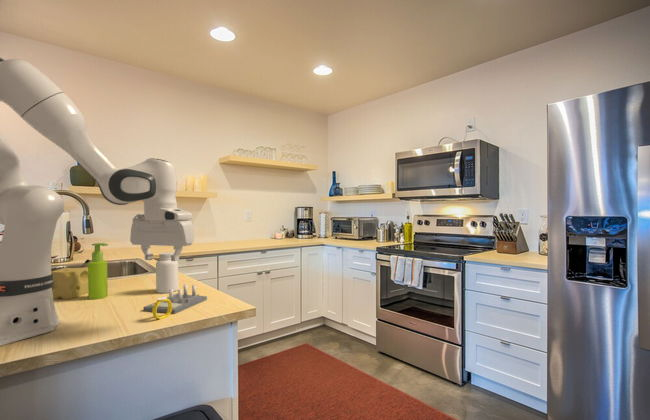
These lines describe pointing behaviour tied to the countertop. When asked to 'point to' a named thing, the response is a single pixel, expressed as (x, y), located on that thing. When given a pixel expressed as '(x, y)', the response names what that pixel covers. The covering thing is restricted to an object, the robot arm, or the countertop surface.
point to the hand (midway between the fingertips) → (161, 260)
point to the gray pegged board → (178, 301)
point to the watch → (157, 306)
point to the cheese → (70, 282)
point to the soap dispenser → (97, 274)
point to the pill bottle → (166, 273)
